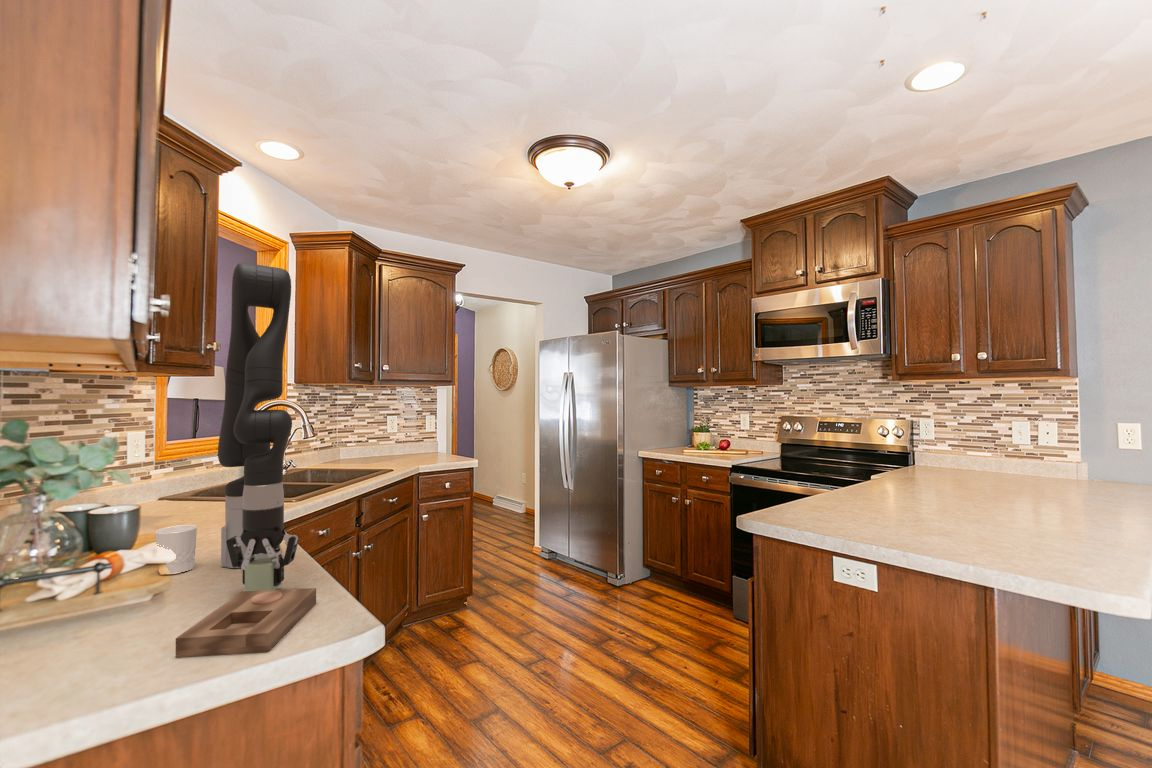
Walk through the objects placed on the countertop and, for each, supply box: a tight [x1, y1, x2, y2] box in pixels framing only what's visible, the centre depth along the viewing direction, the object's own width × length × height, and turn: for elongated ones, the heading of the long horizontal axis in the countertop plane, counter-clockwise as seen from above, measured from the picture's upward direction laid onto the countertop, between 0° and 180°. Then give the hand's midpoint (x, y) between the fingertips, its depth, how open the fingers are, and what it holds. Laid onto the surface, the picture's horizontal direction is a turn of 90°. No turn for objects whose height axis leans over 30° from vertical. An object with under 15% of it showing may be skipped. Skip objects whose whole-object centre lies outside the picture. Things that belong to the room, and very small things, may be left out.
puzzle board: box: [175, 587, 317, 658], centre depth 94 cm, size 14×20×4 cm
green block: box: [244, 558, 282, 591], centre depth 111 cm, size 5×5×6 cm
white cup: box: [155, 524, 198, 573], centre depth 126 cm, size 8×8×10 cm
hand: (263, 585), depth 111 cm, fingers closed on green block, 5 cm apart
